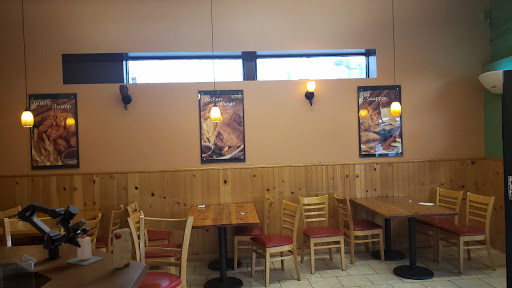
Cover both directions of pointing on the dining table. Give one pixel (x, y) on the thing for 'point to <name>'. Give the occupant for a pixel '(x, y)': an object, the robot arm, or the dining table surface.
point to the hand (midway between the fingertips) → (84, 246)
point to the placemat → (84, 260)
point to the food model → (122, 248)
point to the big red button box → (84, 247)
